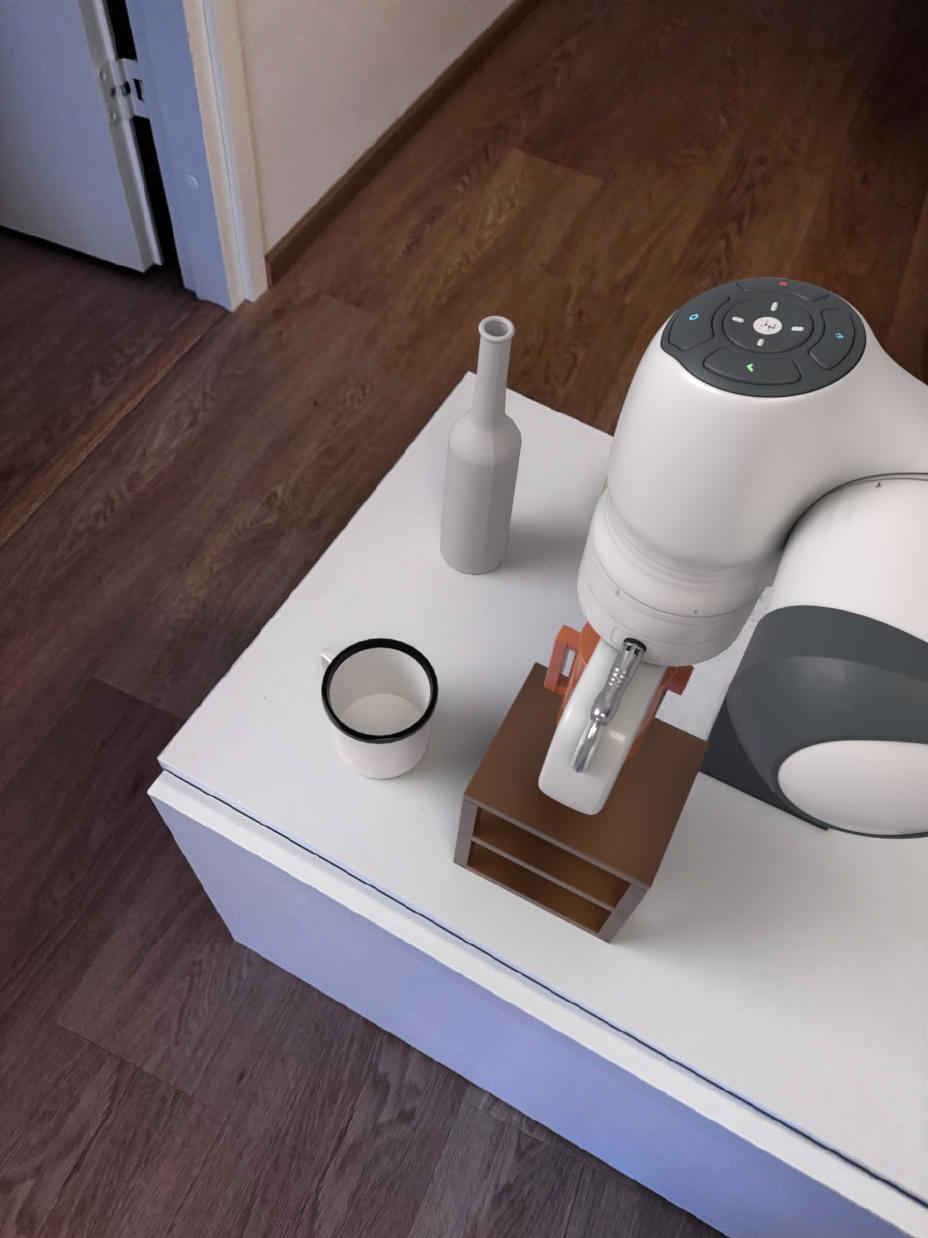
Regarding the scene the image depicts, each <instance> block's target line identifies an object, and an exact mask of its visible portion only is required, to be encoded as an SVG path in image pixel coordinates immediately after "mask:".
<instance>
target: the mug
mask: <svg viewBox="0 0 928 1238" xmlns="http://www.w3.org/2000/svg"><path fill="white" fill-rule="evenodd" d="M318 663H319V668H320V673H321V676H322V681H321V686H320V695H321V697H320V698H321V704H322V707H323V711H324V713H325V714H326V716H327V718H328V720H329V721H330V723H331V728H332V737H333V744H334V747H335V751H336V753H337V755H338V757H339V758H340V760H341V761H342V762H343V763H344V764H345V766H346V767H348V768H349V770H351V771H352V772H354V773H356V774H358V775H360V776H362V777H365V778H370V779H378V780H385V779H392V778H395V777H398V776H401V775H404V774H405V773H408V772H409V771H410V770H411V769H413V768H414V767H415V766H417V765H418V763H419V762H420V761H421V760H422V759H423V757H424V755H425V753H426V752H427V749H428V745H429V740H430V728H431V727H430V726H431V717H432V716H433V714H434V712H435V711H436V707H437V704H438V702H439V691H440V690H439V682H438V677H437V673H436V671H435V668H434V667H433V665H432V663H431V662H430V661H429V659H428V658H427V657H426V655H424V653H422V652H421V651H420V650H418V649H417V648H416V647H414V646H413V645H411V644H408V643H406V642H405V641H401V640H397V639H393V638H386V637H377V638H367V639H364V640H360V641H357V642H355V643H352V644H350V645H348V646H347V647H345V648H344V649H343V650H340V651H339V653H338V654H336V653H334V652H333V651H332V650H331V649H329V648H328V647H327V648H324V649H322V651H320V652H318Z"/></svg>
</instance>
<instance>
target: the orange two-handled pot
mask: <svg viewBox="0 0 928 1238" xmlns="http://www.w3.org/2000/svg"><path fill="white" fill-rule="evenodd" d="M600 638H601V637H600V636H599V634H598V633H597V632H596V631H595V630H594V629H593V628H592V626H591V625H590V623H589V622H588V620H586V622H585V623H584V625H583V627H582V629H581V631H578V630H576V629H575V628H573V627H571V626H569V625H566V624H562V625H561V628H560V629H559V631H558V633H557V635H556V637H555V638H554V643H553V646H552V651H551V655H550V659H549V663H548V666H547V667H548V671H547V675H546V679H545V683H544V688H546V689H549V690H551V691H553V692H556V693H558V694H560V695H562V700H561V703H560V707H559V710H558V714H557V720H556V723H557V726H558V723H559V721H560V719H561V716H562V714H563V712H564V709H565V707H566V705H567V703H568V701H569V699H570V697H571V695H572V693H573V691H574V689H575V687H576V685H577V683H578V681H579V679H580V677H581V675H582V673H583V671H584V669H585V668H586V666H587V664H588V662H589V660H590V658H591V656H592V654H593V652H594V650H595V648H596V646H597V644H598V642H599V640H600ZM570 651H571V652H573V653H574V655H573V659H572V662H571V666H570V670H569V673H568V676H567V675H566V674H564V672H565V668H566V664H567V662H568V657H569V654H570ZM694 670H695V666H694V665H688V666H677V667H676V666H668V667H667V669H666V672H665V674H664V676H663V678H662V680H661V683H660V685H659V687H658V689H657V691H656V694H655V696H654V698H653V700H652V702H651V704H650V707H649V709H648V711H647V713H646V715H645V718H644V720H643V722H642V724H641V726H640V728H639V731H638V733H637V735H636V737H635V739H634V742H633V744H632V746H631V748H630V750H629V752H628V755H627V757H626V759H625V761H624V762H626V761H627V760H629V759H630V758H632V757H633V756H634V755H635V754H636V753H637V752H638V750H639V749H640V747H641V745H642V743H643V741H644V739H645V737H646V735H647V733H648V731H649V729H650V726H651V724H652V722H653V720H654V718H656V717H657V714H658V712H659V710H660V708H661V706H662V703H663V701H664V699H665V697H666V695H667V693H668V691H669V692H671V693H673V694H676V695H678V696H682V695H683V693H684V691H686V690H685V689H686V688H687V685H688V683H689V681H690V679H691V676H692V674H693V672H694Z"/></svg>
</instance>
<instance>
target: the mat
mask: <svg viewBox="0 0 928 1238" xmlns="http://www.w3.org/2000/svg"><path fill="white" fill-rule="evenodd" d="M731 682H732V680H731V681H730V683H729V685H730V684H731ZM728 689H729V687H728V688H727V690H726V693H725V696H724V697H723V700H722V703H721V705H720V708H719V710H718V713H717V714H716V717H715V720H714V723H713V725H712V727H711V730H710V732H709V734H708V737H707V739H706V741H707V742H709V746H708V749H707V751H706V754H705V756H704V759H703V761H702V764H701V766H700V769H699V771H698V772H700V773H702V774H703V775H706V776H709V777H711V778H713V779H714V780H716V781H719V782H721V783H723V784H725V785H727V786H730V787H731V788H733V789H735V790H738V791H740V792H742V793H744V794H746V795H749V796H751V797H753V798H755V799H757V800H758V801H761V802H763V803H765V804H768V805H770V806H771V807H774V808H776V809H777V810H780V811H782V812H785V814H786V813H787V814H788V815H790V816H793V817H795V818H798V819H799V820H802V821H804V822H806V823H808V824H810V825H812V826H814V827H815V828H818V829H821V830H822V831H825V832H827V831H828V830H829V828H828V827H825V826H823V825H820V824H818V823H815V822H813V821H811V820H809V819H807V818H805V817H803V816H802V815H800V814H798V813H797V812H795V811H794V810H792V809H791V808H790V807H788V806H787V805H786V804H785V803H784V802H783V801H782V800H781V799H780V798H779V797H778V796H777V795H776V794H775V793H774V791H773V790H772V789H771V788H770V787H769V785H768V784H767V783H766V782H765V781H764V779H763V778H762V777H761V775H760V774H759V773H758V771H757V770H756V768H755V767H754V765H753V764H752V762H751V760H750V759H749V757H748V755H747V753H746V752H745V750H744V748H743V746H742V744H741V742H740V740H739V738H738V736H737V734H736V731H735V729H734V726H733V724H732V721H731V718H730V715H729V712H728V708H727V692H728Z"/></svg>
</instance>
